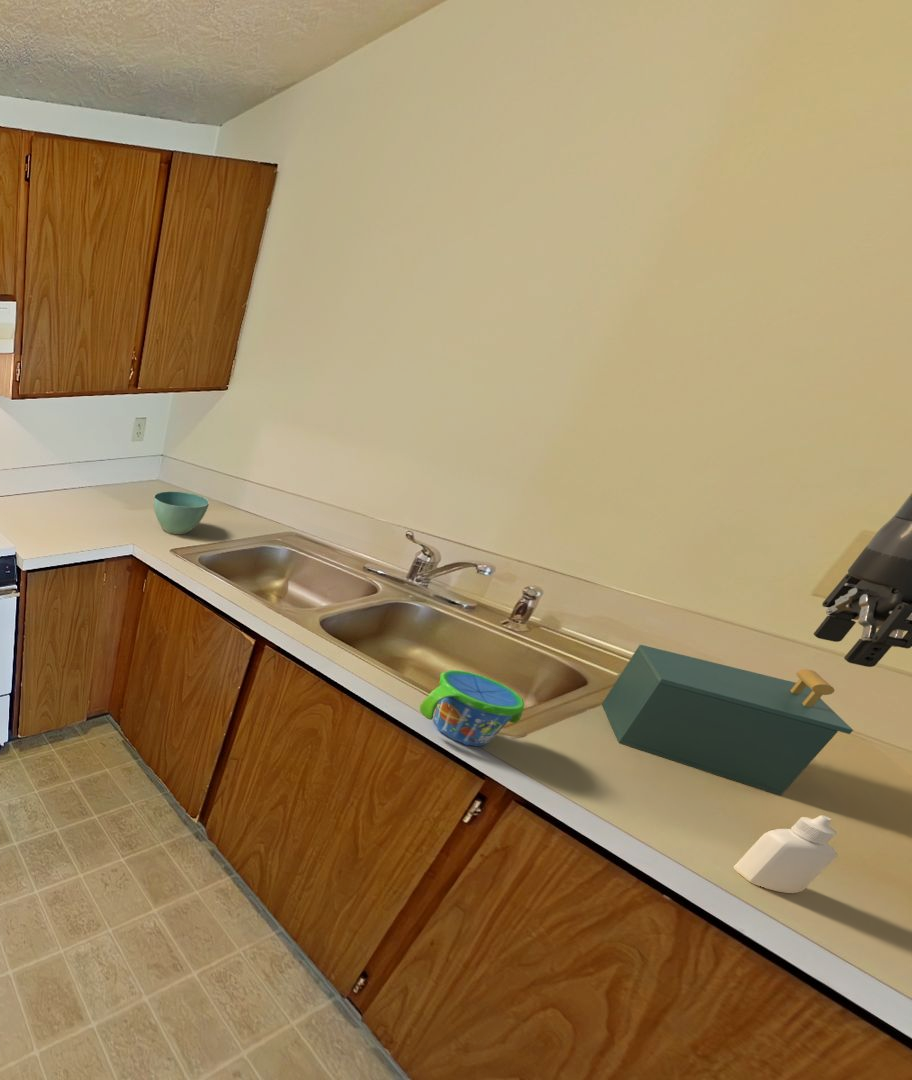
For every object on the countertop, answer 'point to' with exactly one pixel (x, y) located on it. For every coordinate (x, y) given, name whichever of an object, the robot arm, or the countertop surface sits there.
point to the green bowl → (179, 511)
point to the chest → (710, 731)
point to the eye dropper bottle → (789, 856)
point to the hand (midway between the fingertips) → (840, 650)
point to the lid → (748, 687)
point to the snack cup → (471, 707)
